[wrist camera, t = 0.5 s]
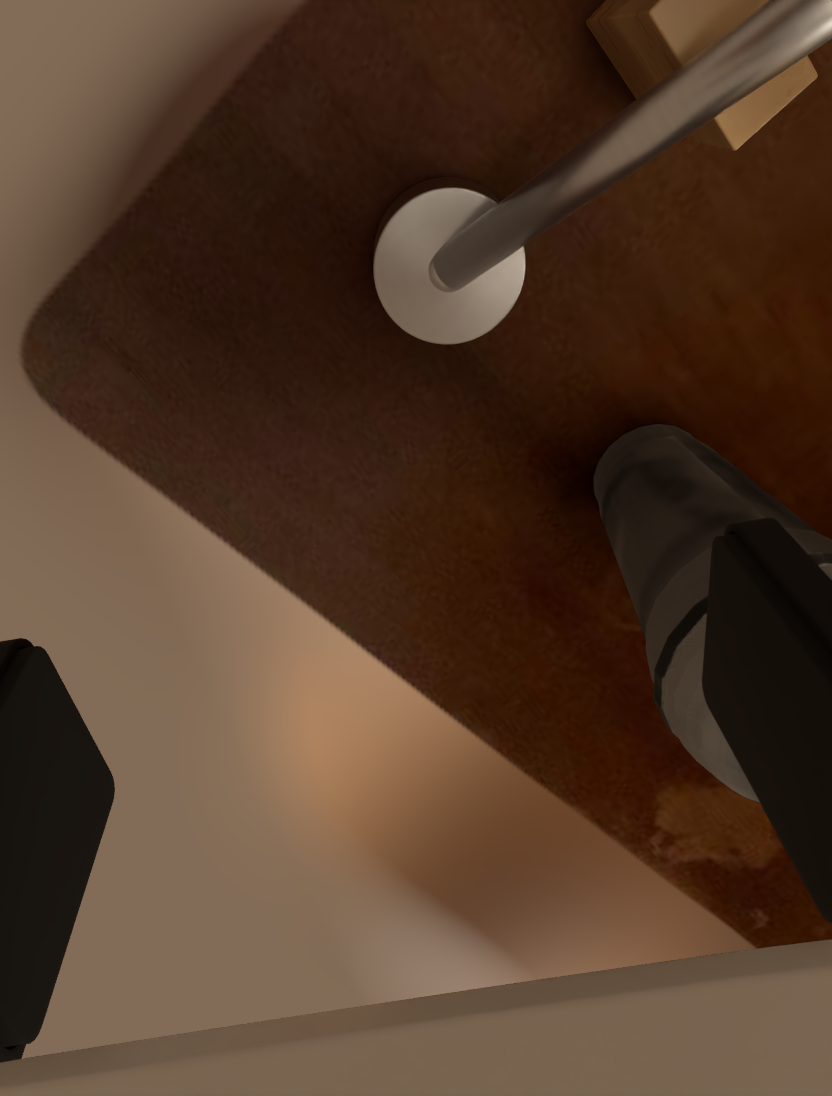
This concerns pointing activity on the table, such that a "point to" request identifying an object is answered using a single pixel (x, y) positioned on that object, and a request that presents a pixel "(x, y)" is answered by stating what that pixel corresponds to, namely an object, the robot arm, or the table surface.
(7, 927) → the robot arm
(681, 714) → the beverage cup
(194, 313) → the table surface
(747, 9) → the shipping carton
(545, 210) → the ladle
